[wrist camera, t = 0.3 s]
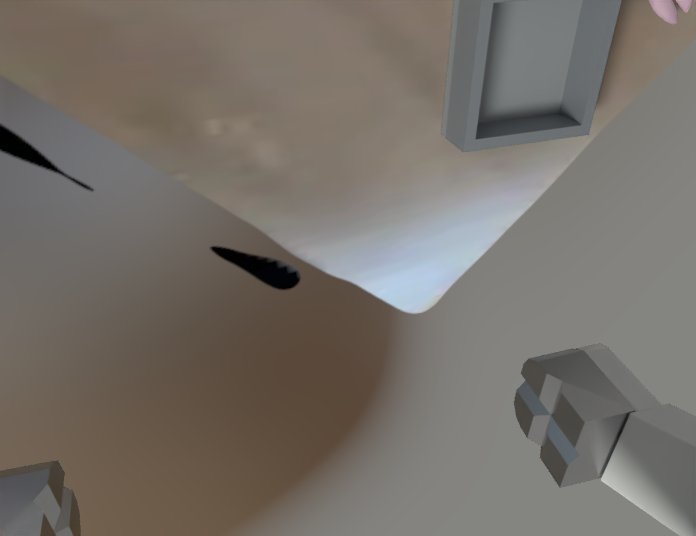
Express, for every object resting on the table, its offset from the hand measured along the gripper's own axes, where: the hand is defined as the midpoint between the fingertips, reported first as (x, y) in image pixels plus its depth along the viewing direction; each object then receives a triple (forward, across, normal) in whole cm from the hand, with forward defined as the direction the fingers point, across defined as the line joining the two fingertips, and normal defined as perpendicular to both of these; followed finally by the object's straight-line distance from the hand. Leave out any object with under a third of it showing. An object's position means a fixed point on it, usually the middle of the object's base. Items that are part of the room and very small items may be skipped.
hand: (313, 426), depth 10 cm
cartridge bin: (+48, -32, +9) cm, 59 cm away
